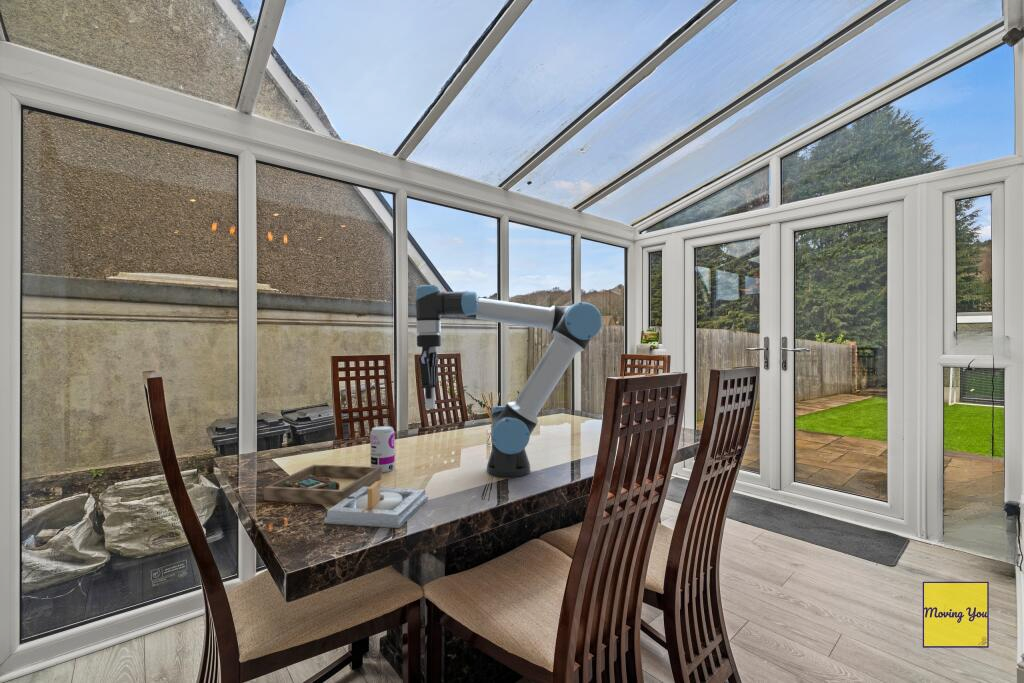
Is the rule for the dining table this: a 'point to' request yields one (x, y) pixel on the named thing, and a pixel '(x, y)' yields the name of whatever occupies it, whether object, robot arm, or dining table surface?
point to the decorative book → (313, 483)
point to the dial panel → (394, 518)
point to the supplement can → (382, 448)
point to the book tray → (323, 496)
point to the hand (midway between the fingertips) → (430, 408)
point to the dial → (379, 499)
